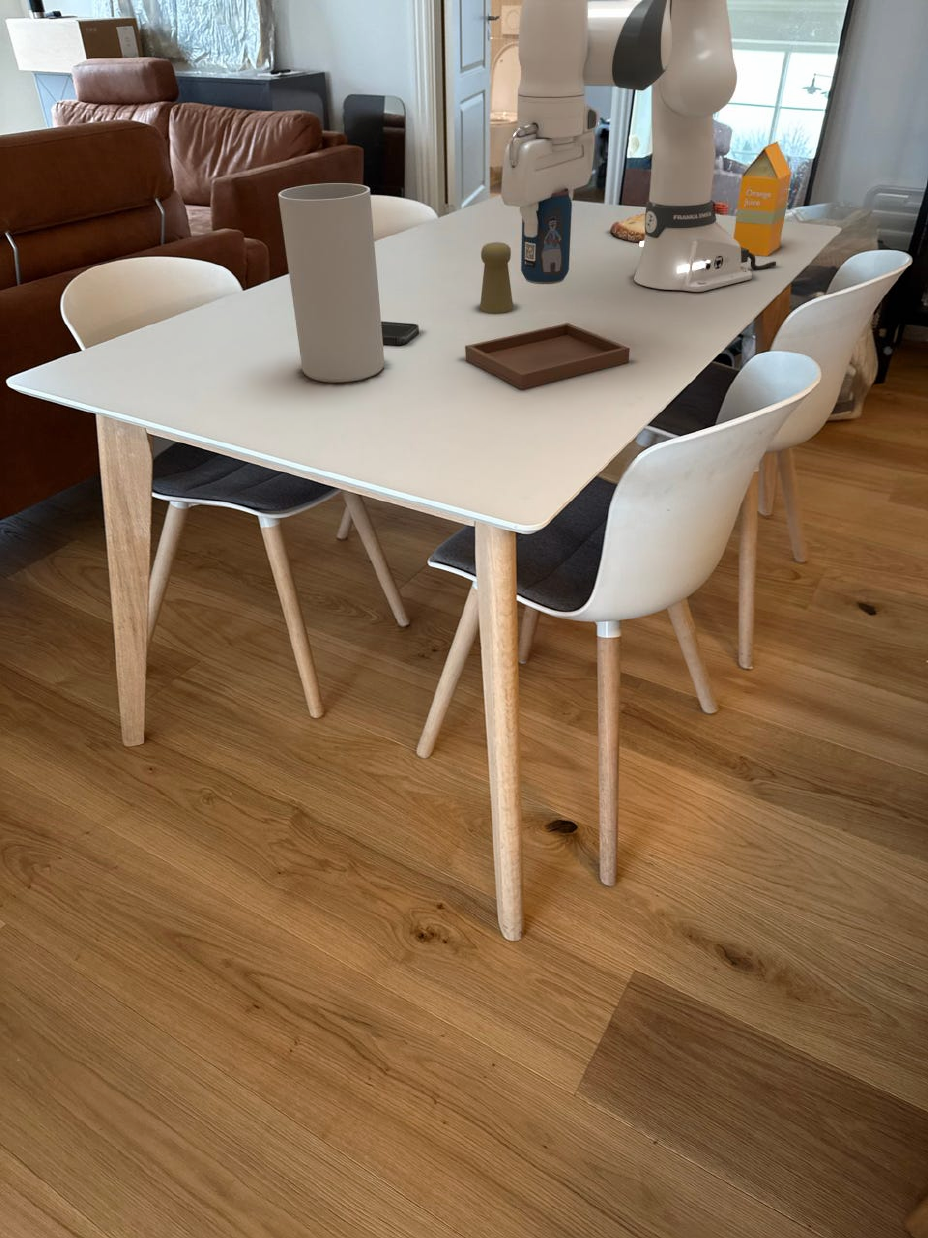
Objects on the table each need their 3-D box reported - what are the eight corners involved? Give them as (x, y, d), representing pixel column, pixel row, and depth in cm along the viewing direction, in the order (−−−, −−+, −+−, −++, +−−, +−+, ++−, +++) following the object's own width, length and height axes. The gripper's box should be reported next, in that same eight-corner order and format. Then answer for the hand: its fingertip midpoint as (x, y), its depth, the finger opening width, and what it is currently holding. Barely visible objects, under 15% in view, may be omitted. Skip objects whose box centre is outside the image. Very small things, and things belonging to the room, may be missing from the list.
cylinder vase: (351, 389, 131) (331, 203, 117) (285, 375, 136) (259, 196, 122) (400, 363, 139) (388, 186, 125) (337, 351, 145) (318, 180, 131)
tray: (567, 336, 148) (568, 322, 147) (628, 362, 137) (629, 347, 136) (465, 359, 140) (464, 345, 139) (521, 389, 129) (521, 374, 128)
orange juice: (780, 246, 193) (797, 141, 181) (767, 256, 187) (784, 147, 175) (744, 243, 196) (758, 139, 185) (730, 252, 190) (744, 145, 179)
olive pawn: (510, 313, 159) (510, 247, 153) (476, 312, 160) (475, 247, 154) (515, 303, 164) (515, 239, 158) (483, 302, 165) (481, 238, 159)
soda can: (542, 270, 136) (545, 182, 129) (578, 278, 132) (583, 188, 125) (511, 279, 132) (512, 189, 125) (546, 288, 128) (549, 196, 121)
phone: (403, 338, 145) (319, 331, 150) (403, 345, 146) (320, 338, 150) (420, 324, 152) (340, 317, 156) (421, 330, 152) (340, 324, 156)
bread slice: (700, 244, 196) (702, 226, 194) (617, 247, 197) (618, 228, 194) (685, 226, 211) (687, 209, 209) (607, 229, 211) (608, 211, 209)
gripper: (533, 129, 111) (530, 247, 119) (604, 112, 126) (597, 219, 133) (489, 127, 114) (489, 242, 122) (563, 110, 128) (559, 214, 136)
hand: (546, 230), depth 128 cm, fingers closed on soda can, 7 cm apart
